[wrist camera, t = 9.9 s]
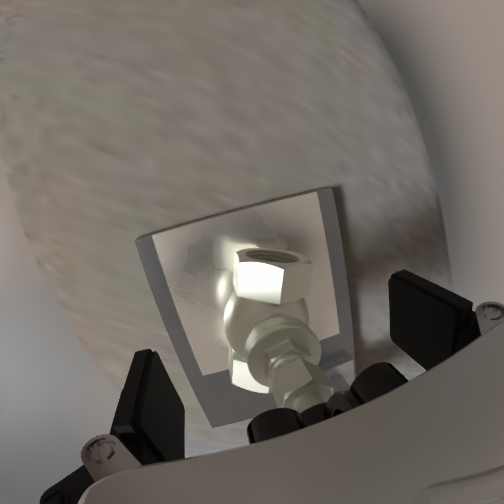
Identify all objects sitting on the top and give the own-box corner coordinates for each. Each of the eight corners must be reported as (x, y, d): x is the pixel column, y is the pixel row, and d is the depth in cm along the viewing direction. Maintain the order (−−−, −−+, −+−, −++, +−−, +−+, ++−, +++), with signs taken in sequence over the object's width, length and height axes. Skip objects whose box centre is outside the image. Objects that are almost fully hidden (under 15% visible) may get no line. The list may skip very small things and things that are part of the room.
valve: (320, 248, 16) (498, 355, 5) (305, 351, 18) (404, 504, 6) (200, 243, 15) (204, 416, 3) (198, 354, 16) (213, 549, 5)
